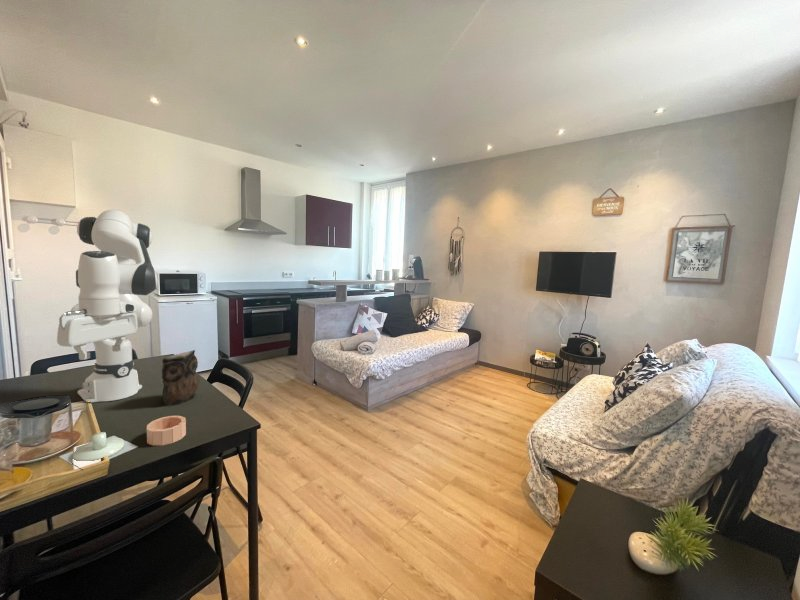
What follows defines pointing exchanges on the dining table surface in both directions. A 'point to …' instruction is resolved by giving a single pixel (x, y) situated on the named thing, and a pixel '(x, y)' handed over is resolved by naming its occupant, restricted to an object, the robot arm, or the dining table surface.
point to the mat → (127, 447)
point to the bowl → (166, 430)
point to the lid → (99, 448)
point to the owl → (179, 378)
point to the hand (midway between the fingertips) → (101, 354)
